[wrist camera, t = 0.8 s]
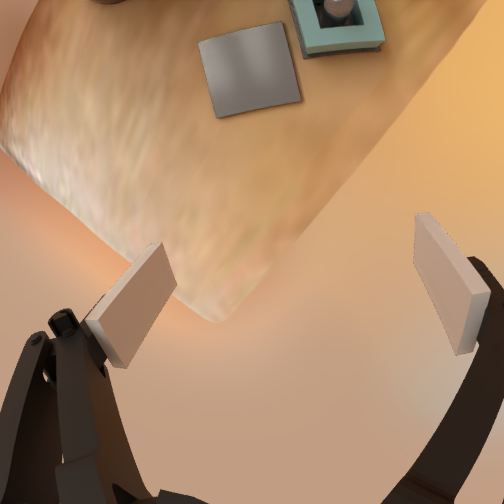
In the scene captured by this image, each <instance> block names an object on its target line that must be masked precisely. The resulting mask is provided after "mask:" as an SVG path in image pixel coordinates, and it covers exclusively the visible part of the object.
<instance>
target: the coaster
mask: <svg viewBox="0 0 504 504" xmlns="http://www.w3.org/2000/svg"><path fill="white" fill-rule="evenodd" d="M198 46H199V50H200V54H201V59H202V63H203V67H204V71H205V75H206V79H207V83H208V87H209V91H210V95H211V99H212V103H213V107H214V111H215V115H216V118H220V117H224V116H228V115H233V114H237V113H241V112H246V111H251V110H255V109H260V108H265V107H270V106H275V105H281V104H286V103H292V102H298V101H301V98H300V93H299V89H298V85H297V80H296V76H295V72H294V67H293V63H292V59H291V55H290V51H289V47H288V43H287V40H286V36H285V32H284V28H283V25H282V21H281V22H276V23H271V24H266V25H261V26H256V27H252V28H248V29H244V30H240V31H236V32H232V33H228V34H224V35H221V36H217V37H214V38H210V39H207V40H204V41H201V42H198Z"/></svg>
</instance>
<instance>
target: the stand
mask: <svg viewBox="0 0 504 504" xmlns="http://www.w3.org/2000/svg"><path fill="white" fill-rule="evenodd" d="M288 3H289V6H290V10H291V13H292V16H293V20H294V24H295V27H296V31H297V35H298V38H299V42H300V46H301V50H302V54H303V58H304V59H306V58H313V57H320V56H328V55H337V54H347V53H359V52H374V51H381V49H380V45H379V46H378V47H372V48H357V49H345V50H336V51H327V52H319V53H312V54H307V53H306V49H305V45H304V42H303V38H302V34H301V30H300V27H299V23H298V19H297V16H296V12H295V9H294V6H293V2H292V0H288ZM354 4H355V0H324V3H315V4H313V5H314V8H315V11H316V15H317V18H318V22H319V25H320V29H325V28H334V27H345V26H355V22H354V19H353V15H352V12H351V10H352V8H353V6H354Z"/></svg>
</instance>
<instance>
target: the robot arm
mask: <svg viewBox="0 0 504 504" xmlns="http://www.w3.org/2000/svg"><path fill="white" fill-rule="evenodd" d="M92 1H95V2H98V3H102V4H113V3H118V2H121V1H124V0H92ZM413 263H414V265H415V267H416V269H417V271H418V273H419V275H420V277H421V279H422V281H423V283H424V285H425V287H426V289H427V291H428V293H429V295H430V297H431V299H432V302H433V304H434V306H435V308H436V310H437V313H438V315H439V317H440V319H441V322H442V324H443V326H444V329H445V331H446V333H447V335H448V338H449V340H450V343H451V345H452V348H453V350H454V353H455V355H456V356H457V355H461V354H466V353H470V352H473V350H474V347H475V344H476V341H478V343H479V348H478V350H477V352H476V355H475V357H474V359H473V362H472V364H471V366H470V368H469V370H468V372H467V375H466V377H465V379H464V381H463V383H462V385H461V387H460V389H459V391H458V393H457V394H456V396H455V398H454V400H453V402H452V404H451V406H450V407H449V409H448V411H447V413H446V414H445V416H444V418H443V420H442V421H441V423H440V425H439V426H438V428H437V430H436V431H435V433H434V434H433V436H432V438H431V439H430V441H429V442H428V444H427V445H426V447H425V448H424V450H423V451H422V453H421V454H420V456H419V457H418V458H417V460H416V461H415V463H414V464H413V466H412V467H411V468H410V469H409V471H408V472H407V473H406V475H405V476H404V477H403V478H402V479H401V480H400V481H399V482H398V484H397V485H396V486H395V487H394V488H393V490H392V491H391V492H390V493H389V495H388V496H387V497H386V498H385V499H384V500H383V502H382V503H381V504H454V499H455V497H456V495H457V494H458V492H459V490H460V489H461V487H462V485H463V484H464V482H465V480H466V478H467V477H468V475H469V473H470V471H471V469H472V467H473V466H474V464H475V462H476V460H477V458H478V456H479V454H480V452H481V450H482V448H483V446H484V444H485V442H486V440H487V438H488V435H489V433H490V431H491V429H492V426H493V424H494V422H495V419H496V417H497V414H498V412H499V409H500V407H501V404H502V401H503V399H504V289H503V288H502V286H501V285H500V284H499V282H498V281H497V280H496V278H495V277H494V276H493V274H492V273H491V272H490V271H489V270H488V268H487V267H486V265H485V264H484V263H483V262H482V261H480V260H479V259H477V258H476V257H474V256H473V257H466V256H465V255H464V254H463V252H462V251H461V250H460V249H459V247H458V246H457V245H456V244H455V243H454V241H453V240H452V239H451V237H450V236H449V235H448V234H447V233H446V231H445V230H444V229H443V228H442V227H441V226H440V224H439V223H438V222H437V221H436V220H435V219H434V217H432V215H431V214H430V213H429V212H427V213H416V214H415V240H414V260H413ZM176 286H177V283H176V280H175V277H174V275H173V272H172V269H171V266H170V263H169V261H168V258H167V255H166V252H165V249H164V246H163V243H162V242H161V243H153V244H150V245H149V246H148V247H147V248H146V249H145V250H144V251H143V252H142V254H141V255H140V256H139V257H138V258H137V259H136V260H135V261H134V262H133V264H132V265H131V266H130V267H129V268H128V269H127V270H126V271H125V273H124V274H123V275H122V276H121V277H120V278H119V279H118V280H117V282H116V283H115V284H114V285H113V286H112V287H111V289H110V290H109V291H108V292H107V293H106V294H105V295H103V296H102V298H101V299H100V300H99V301H98V302H97V304H96V305H95V306H94V307H93V309H91V311H90V312H89V313H88V314H87V316H86V317H85V318H84V319H83V320H82V322H81V323H80V324H79V322H78V320H77V319H76V317H75V315H74V313H73V312H72V310H71V309H69V308H68V309H63V310H60V311H58V312H56V313H55V314H54V315H53V316H52V317H51V318H50V319H49V321H48V325H49V326H50V328H51V330H52V331H53V333H54V334H55V336H56V338H53V339H49V337H48V335H47V334H46V332H44V331H39V332H37V333H34V334H33V335H31V336H30V338H29V339H28V340H27V342H26V344H25V346H24V348H23V351H22V353H21V356H20V358H19V361H18V363H17V366H16V368H15V371H14V374H13V376H12V379H11V382H10V385H9V387H8V391H7V393H6V397H5V399H4V402H3V405H2V409H1V412H0V504H208V503H206V502H204V501H201V500H199V499H197V498H195V497H192V496H187V495H183V494H178V493H173V492H169V491H165V490H160V492H159V495H158V497H152V495H151V494H150V493H149V492H148V491H147V489H146V487H145V486H144V483H143V481H142V479H141V476H140V473H139V471H138V468H137V465H136V463H135V460H134V457H133V455H132V452H131V449H130V446H129V443H128V441H127V437H126V434H125V431H124V428H123V425H122V422H121V418H120V415H119V411H118V408H117V404H116V401H115V397H114V393H113V389H112V386H111V382H110V378H109V373H108V369H107V367H106V366H105V365H104V362H105V361H106V359H107V358H108V359H109V361H110V363H111V364H112V366H113V367H116V368H124V369H127V367H128V366H129V364H130V362H131V360H132V359H133V357H134V355H135V353H136V352H137V350H138V348H139V346H140V345H141V343H142V342H143V340H144V338H145V337H146V335H147V333H148V332H149V330H150V328H151V327H152V325H153V323H154V321H155V320H156V318H157V317H158V315H159V313H160V312H161V310H162V308H163V307H164V305H165V304H166V302H167V300H168V299H169V297H170V295H171V294H172V292H173V291H174V289H175V287H176ZM43 372H44V373H45V375H46V376H47V377H48V379H47V382H46V381H45V379H44V376H43ZM62 455H63V458H64V463H62ZM502 504H504V500H503V503H502Z"/></svg>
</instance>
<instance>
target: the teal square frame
mask: <svg viewBox="0 0 504 504" xmlns="http://www.w3.org/2000/svg"><path fill="white" fill-rule="evenodd" d="M292 2H293V6H294V9H295V12H296V16H297V19H298V23H299V27H300V30H301V34H302V38H303V42H304V45H305V49H306V53H307V54H312V53H319V52H327V51H336V50H345V49H357V48H372V47H378V46H379V45H380V44H382V43H383V42H384V41H386V39H385V36H384V32H383V28H382V25H381V21H380V18H379V14H378V11H377V8H376V4H375V1H374V0H355V4H354V6H353V8H352V10H351V12H352V15H353V19H354V22H355V26H345V27H334V28H325V29H320V25H319V22H318V18H317V15H316V11H315V8H314V5H313V4H315V3H324V0H292Z"/></svg>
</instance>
